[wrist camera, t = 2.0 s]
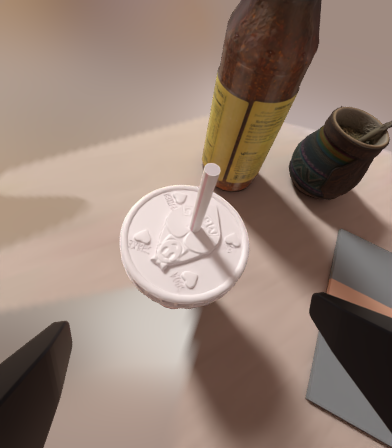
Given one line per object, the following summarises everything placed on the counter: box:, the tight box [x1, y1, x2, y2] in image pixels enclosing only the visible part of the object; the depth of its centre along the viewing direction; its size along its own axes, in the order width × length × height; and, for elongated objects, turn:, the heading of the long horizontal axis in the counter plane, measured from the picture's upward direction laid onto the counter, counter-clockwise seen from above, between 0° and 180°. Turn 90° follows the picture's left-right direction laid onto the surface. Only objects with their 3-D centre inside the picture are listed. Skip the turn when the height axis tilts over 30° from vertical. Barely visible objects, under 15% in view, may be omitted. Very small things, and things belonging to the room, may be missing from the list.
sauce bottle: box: [202, 0, 321, 191], centre depth 18 cm, size 6×6×20 cm
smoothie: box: [120, 163, 249, 309], centre depth 14 cm, size 6×6×14 cm
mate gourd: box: [289, 106, 392, 200], centre depth 24 cm, size 7×8×10 cm
